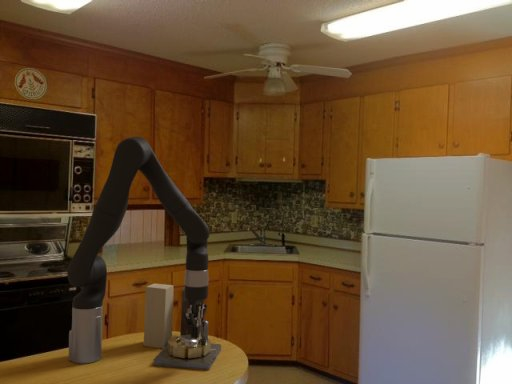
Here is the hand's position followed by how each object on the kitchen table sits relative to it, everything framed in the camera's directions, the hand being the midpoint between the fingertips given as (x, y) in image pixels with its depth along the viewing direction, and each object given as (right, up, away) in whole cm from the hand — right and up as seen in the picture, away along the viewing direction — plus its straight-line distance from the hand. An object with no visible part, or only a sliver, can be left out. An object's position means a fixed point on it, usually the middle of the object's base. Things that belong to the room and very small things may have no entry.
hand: (195, 337), depth 149 cm
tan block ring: (-3, -6, +7) cm, 10 cm away
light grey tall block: (-16, -9, +19) cm, 26 cm away
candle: (-5, -9, +24) cm, 26 cm away
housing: (-3, -9, +7) cm, 12 cm away
